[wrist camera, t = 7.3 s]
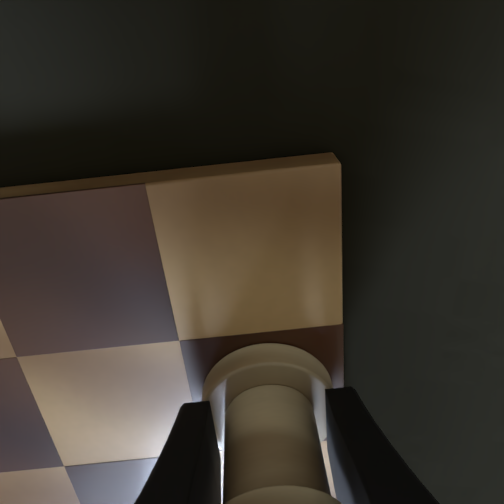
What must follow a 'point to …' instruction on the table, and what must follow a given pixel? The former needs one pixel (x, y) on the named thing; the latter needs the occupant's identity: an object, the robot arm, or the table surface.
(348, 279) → the table surface
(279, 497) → the pawn
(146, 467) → the chessboard
